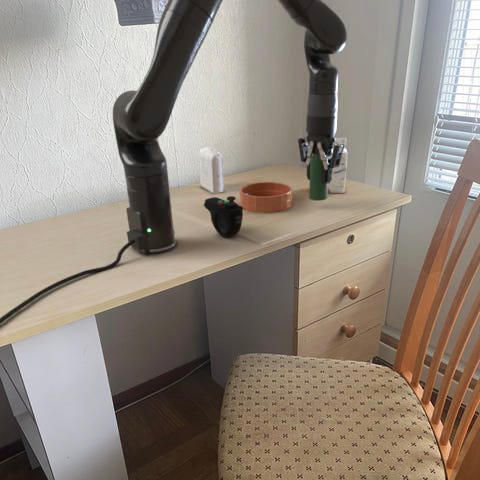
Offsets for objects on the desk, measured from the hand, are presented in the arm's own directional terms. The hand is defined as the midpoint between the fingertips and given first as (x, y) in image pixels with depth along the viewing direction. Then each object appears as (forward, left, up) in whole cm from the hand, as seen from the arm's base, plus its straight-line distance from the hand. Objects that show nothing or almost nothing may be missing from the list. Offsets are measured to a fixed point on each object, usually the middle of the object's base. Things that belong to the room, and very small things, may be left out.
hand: (318, 181), depth 136 cm
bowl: (-8, +12, -7) cm, 16 cm away
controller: (-30, +3, -8) cm, 31 cm away
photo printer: (-9, +35, -8) cm, 37 cm away
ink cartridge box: (+14, +8, -8) cm, 18 cm away
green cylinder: (0, 0, -5) cm, 5 cm away
